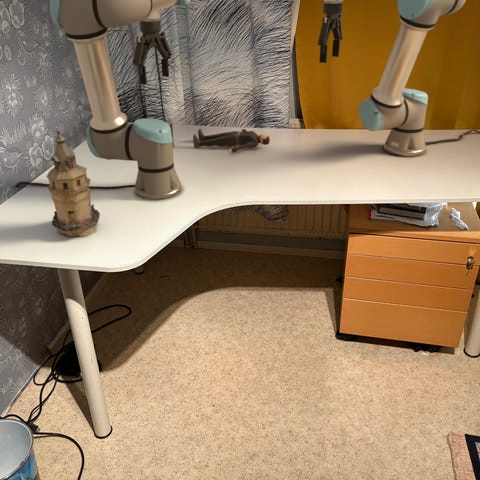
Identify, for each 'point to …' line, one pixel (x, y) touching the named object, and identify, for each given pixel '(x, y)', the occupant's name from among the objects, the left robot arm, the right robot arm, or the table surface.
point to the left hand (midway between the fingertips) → (155, 80)
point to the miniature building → (70, 193)
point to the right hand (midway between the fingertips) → (329, 59)
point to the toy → (231, 140)
